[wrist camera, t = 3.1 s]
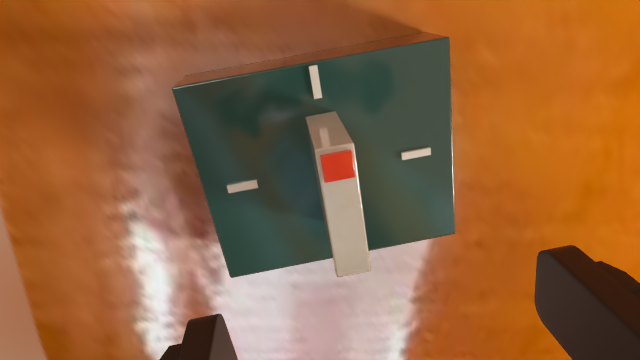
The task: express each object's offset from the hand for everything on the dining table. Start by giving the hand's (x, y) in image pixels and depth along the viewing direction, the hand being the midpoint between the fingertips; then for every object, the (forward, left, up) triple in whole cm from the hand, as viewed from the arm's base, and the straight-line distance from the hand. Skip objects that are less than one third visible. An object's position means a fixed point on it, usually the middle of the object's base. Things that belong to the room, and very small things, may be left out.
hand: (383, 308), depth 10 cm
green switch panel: (0, 0, -13) cm, 13 cm away
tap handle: (0, 0, -10) cm, 10 cm away
